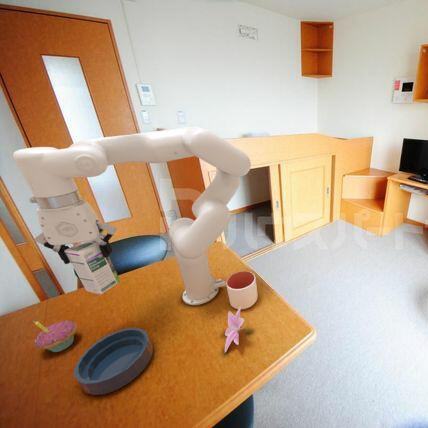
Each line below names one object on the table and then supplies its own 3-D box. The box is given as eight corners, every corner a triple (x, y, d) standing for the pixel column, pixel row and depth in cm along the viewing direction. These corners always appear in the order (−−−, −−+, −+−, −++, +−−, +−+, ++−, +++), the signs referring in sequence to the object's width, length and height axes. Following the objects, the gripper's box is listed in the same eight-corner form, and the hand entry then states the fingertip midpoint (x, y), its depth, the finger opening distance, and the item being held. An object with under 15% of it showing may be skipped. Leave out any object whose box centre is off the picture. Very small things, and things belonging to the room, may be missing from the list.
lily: (234, 319, 83) (216, 308, 76) (264, 312, 80) (247, 300, 74) (226, 358, 74) (205, 349, 68) (259, 351, 71) (240, 341, 65)
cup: (262, 293, 92) (260, 273, 88) (250, 313, 84) (246, 292, 79) (239, 289, 94) (235, 268, 90) (224, 308, 86) (220, 287, 81)
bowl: (158, 333, 76) (153, 321, 74) (146, 381, 63) (140, 368, 61) (97, 350, 71) (89, 338, 68) (71, 407, 58) (60, 394, 55)
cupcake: (47, 363, 67) (25, 334, 62) (38, 348, 71) (17, 319, 66) (86, 340, 73) (69, 312, 68) (76, 327, 77) (60, 300, 72)
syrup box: (101, 295, 67) (80, 252, 61) (85, 291, 68) (62, 249, 62) (121, 281, 72) (103, 241, 66) (105, 278, 74) (86, 238, 67)
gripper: (0, 210, 52) (39, 273, 60) (97, 200, 58) (122, 259, 66) (24, 198, 59) (57, 256, 66) (109, 190, 64) (131, 245, 72)
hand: (89, 257), depth 66 cm, fingers closed on syrup box, 7 cm apart
